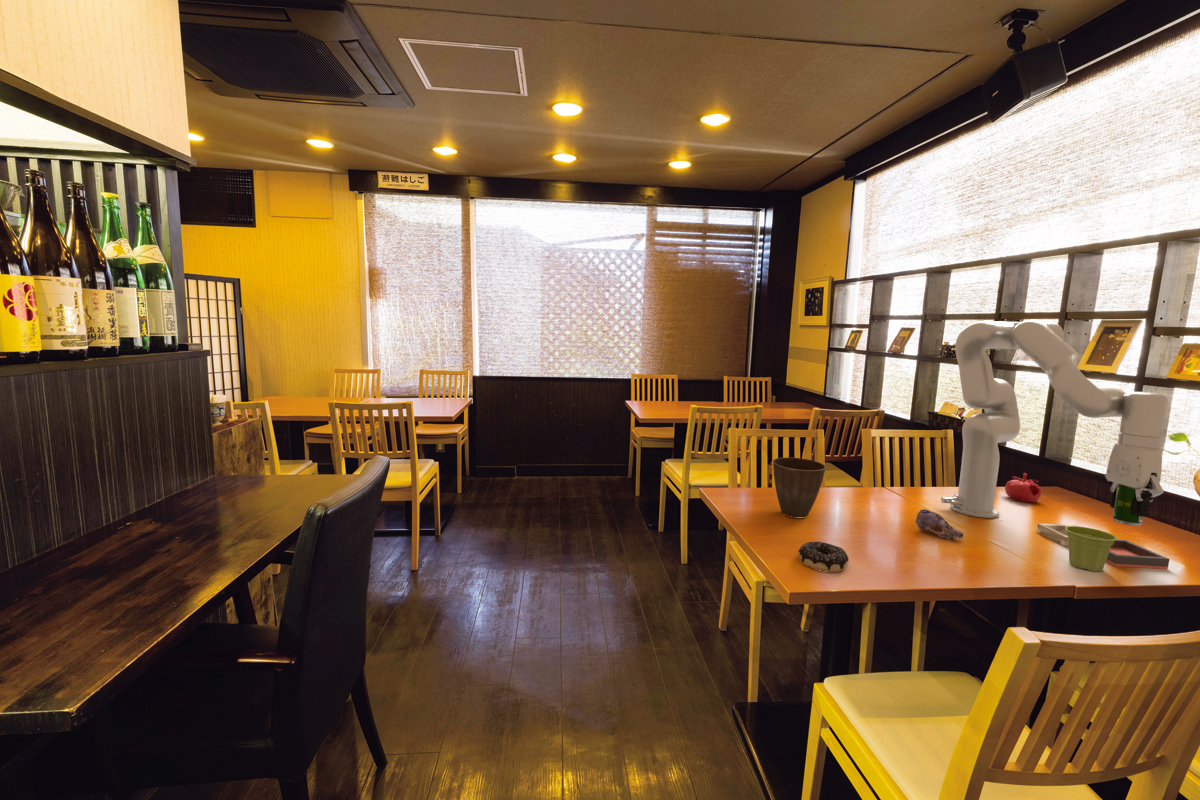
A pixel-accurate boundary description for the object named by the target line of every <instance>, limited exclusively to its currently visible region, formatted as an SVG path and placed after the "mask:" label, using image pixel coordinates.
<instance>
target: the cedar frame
mask: <svg viewBox="0 0 1200 800" xmlns="http://www.w3.org/2000/svg"><path fill="white" fill-rule="evenodd" d="M1067 526H1077V525H1076V524H1075V525H1073V524H1056V523H1037V528H1036V532H1037V533H1038V534H1041V535H1042V536H1044V537H1046V538H1048V539H1049V540H1051V541H1053V542H1055V543H1057V544H1059V545H1062V546H1063V547H1069V539H1068V536H1067V531H1066V530H1065V527H1067Z"/></svg>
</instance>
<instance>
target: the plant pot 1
mask: <svg viewBox="0 0 1200 800" xmlns="http://www.w3.org/2000/svg"><path fill="white" fill-rule="evenodd" d="M772 467H773V479H774V486H775V491H776V496H777V497H776V498H777V500H778V504H779V507H780V512H781V514H782V513H783V514H785V515H788V516H792V517H806V516H807V517H808V516H809V514H810V512H811V510H812V508H813V506H814V504H815V502H816V500H817V497H818V495H819V492H820V489H821V486H822V484H823V480H824V476H825V473H826V468H827V466H826V464H824V463H822V462H819V461H816V460H812V459H808V458H802V457H777V458H774V459H773V460H772ZM783 514H782V515H783ZM785 515H784V516H785ZM788 516H787V517H788ZM807 517H806V518H807Z"/></svg>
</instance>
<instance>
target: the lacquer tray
mask: <svg viewBox="0 0 1200 800" xmlns="http://www.w3.org/2000/svg"><path fill="white" fill-rule="evenodd" d="M1105 563H1108V564H1110V565H1112V566H1115V567H1125V568H1126V567H1128V568H1142V569H1143V568H1144V569H1158V570H1159V569H1160V570H1168V569H1169V564H1170V558H1168V557H1166V556H1163V555H1161V554H1159V553H1157V552H1154V551H1152V550H1150V549H1148V548H1145V547H1143V546H1141V545H1138V544H1136V543H1134V542H1132V541H1129V540H1127V539H1118V538H1117V540H1116V541H1114V543H1113V545H1112V546H1111V548H1110V551H1109V554H1108V556H1107V559H1106V562H1105Z"/></svg>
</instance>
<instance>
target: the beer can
mask: <svg viewBox="0 0 1200 800" xmlns="http://www.w3.org/2000/svg"><path fill="white" fill-rule="evenodd" d="M1145 488H1146V487H1145ZM1142 494H1145V491H1142ZM1134 500H1137V499H1136V492H1135V489H1134V488H1130V487H1127V486H1124V485H1122V484H1117V490H1116V497H1115V504H1114V508H1113V512H1112V520H1113V521H1114V522H1116V523H1118V524H1122V525H1127V526H1133V527H1134V526H1135V527H1139V526H1140V525H1142V524H1143V519H1144V517H1142V516H1133V515H1132V508H1133V501H1134Z"/></svg>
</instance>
